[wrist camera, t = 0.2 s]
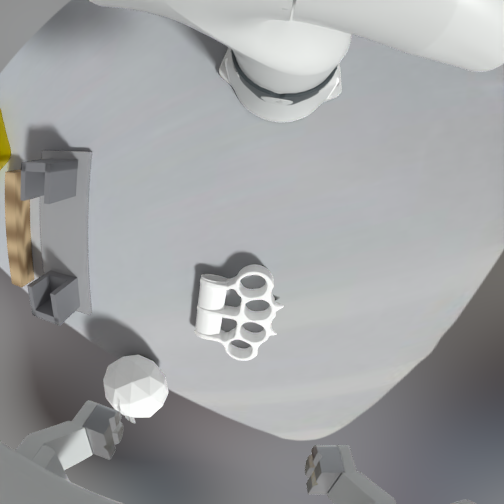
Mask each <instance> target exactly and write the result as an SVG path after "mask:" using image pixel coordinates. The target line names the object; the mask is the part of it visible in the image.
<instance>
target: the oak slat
mask: <svg viewBox="0 0 504 504" xmlns="http://www.w3.org/2000/svg"><path fill="white" fill-rule="evenodd" d="M5 219H6V236H7V247H8V257H9V265H10V272H11V279H12V283H13V284H15V285H17V286H20V287H23V286H25V285H26V284H28V283H29V282H31V281H32V280H34V271H33V262H32V250H31V234H30V199H29V200H26V201H22V200H21V169H20V170H14V171H9V172H5Z"/></svg>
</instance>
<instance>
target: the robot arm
mask: <svg viewBox="0 0 504 504" xmlns="http://www.w3.org/2000/svg"><path fill="white" fill-rule="evenodd" d="M89 1H90V2H92V3H94V4H96V5H99V6H103V7H113V8H122V9H130V10H136V11H142V12H147V13H151V14H155V15H159V16H162V17H166V18H169V19H172V20H174V21H177V22H179V23H182V24H184V25H186V26H189V27H191V28H193V29H195V30H197V31H199V32H201V33H203V34H205V35H207V36H209V37H211V38H213V39H215V40H216V41H218V42H220V43H222V44H224V45H225V46H227V47H228V50H227V52H226V54H225V56H224V58H223V61H222V63H221V65H220V68H219V74H220V76H221V77H222V78H223V79H224V80H225V81H226V82H227V83H229V84H230V85H231V86H232V87H233V89H234V91H235V93H236V95H237V97H238V99H239V100H240V102H241V103H242V104H243V106H244V107H245V108H246V109H248V110H249V111H250V112H251V113H253V114H254V115H256V116H258V117H260V118H262V119H265V120H268V121H273V122H292V121H296V120H299V119H302V118H304V117H306V116H308V115H309V114H311V113H312V112H313V111H315V110H316V109H317V108H318V107H319V106H320V105H321V104H322V103H323V102H325V101H328V100H331V99H334V98H336V97H338V96H339V95H340V93H341V91H342V87H341V73H340V61H341V60H342V59H343V57H344V56H345V55H346V53H347V51H348V49H349V46H350V43H351V37H352V35H355V36H358V37H361V38H365V39H368V40H371V41H374V42H377V43H380V44H382V45H385V46H388V47H391V48H393V49H396V50H398V51H401V52H403V53H406V54H410V55H415V56H419V57H422V58H426V59H430V60H434V61H437V62H440V63H444V64H448V65H452V66H455V67H459V68H462V69H466V70H469V71H473V72H485V71H489V70H492V69H494V68H497V67H499V66H501V65H502V64H504V0H89ZM121 418H122V417H121V412H119V411H117V410H114V409H111V408H108V407H106V406H103V405H101V404H98V403H95V402H92V401H90V400H89V401H87V402H86V403H85V404H84V406H83V407H82V408H81V410H80V411H79V412H78V414H77V415H76V416H75V418H74V419H73V420H72V422H70V421H67V422H64V423H61V424H58V425H55V426H52V427H49V428H46V429H43V430H40V431H37V432H34V433H31V434H28V435H27V436H26V438H25V439H24V440H23V441H22V442H21V444H20V445H19V446H18V447H17V449H16V450H13V449H12V448H10V447H9V446H7V445H6V444H4V443H3V442H1V441H0V504H123V503H120V502H117V501H114V500H112V499H109V498H106V497H104V496H101V495H99V494H96V493H94V492H92V491H89V490H87V489H84V488H82V487H80V486H78V485H76V484H74V483H72V482H70V481H69V479H68V477H67V475H66V473H65V471H64V470H65V469H67V468H69V467H71V466H73V465H75V464H77V463H78V462H80V461H82V460H84V459H86V458H88V457H89V456H91V455H92V454H95V455H98V456H101V457H104V458H106V459H109V460H110V459H111V458H112V456H113V454H114V452H115V450H116V449H115V444H117V443H119V442H120V440H121V438H122V434H123V424H122V423H121V422H120V419H121ZM311 452H312V455H310V456H309V457H308V458H307V460H306V465H305V475H306V476H307V477H308V478H309V479H308V481H307V483H306V484H307V491H308V494H311V495H312V494H313V495H315V494H316V495H317V494H318V495H319V494H320V495H321V494H327V496H328V497H329V499H330V500H331V501H332V502H333V503H334V504H396V502H395V499H394V498H393V497H391V496H390V495H389V494H388V493H386V492H385V491H384V490H382V489H381V488H380V487H379V486H377V485H376V484H375V483H373V482H372V481H371V480H370V479H368V478H367V477H366V476H365V475H364V474H362V473H361V472H357V470H356V466H355V463H354V459H353V456H352V453H351V449H350V447H349V446H348V445H315V446H314V447H313V448H312V450H311ZM453 504H476V503H474V502H472V501H469V500H462V501H458V502H456V503H453Z"/></svg>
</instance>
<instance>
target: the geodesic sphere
mask: <svg viewBox="0 0 504 504" xmlns="http://www.w3.org/2000/svg"><path fill="white" fill-rule="evenodd" d="M103 381H104V388H105V396H106V399H107V400H108V401H109V402H110V404H111V405H112V406H113V407H114V409H115V410H117V411H119V412H121V414H123V415H125V417H127V419H128V420H129V418H130V421H131V422H133V423H136V422H135V419H134V417H151V416H152V415H153V414H154V413H155V412H156V411H158V410H159V409H160V408H161V407H162V406H163V404H164V401H165V399H166V397H167V395H168V387H167V381H166V376H165V374H164V373H163V372H162V371H161V369H160V368H159V367H158V366H157V365H156V364H155V362H154V361H152V360H150V359H147V358H145V357H143V356H141V355H131V356H123V357H121V358H119V359H118V360H116V361H115V362H113V363H112V364H110V365H109V366H108V368H107V371H106V374H105V377H104V379H103ZM128 416H129V418H128Z"/></svg>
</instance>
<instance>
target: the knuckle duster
mask: <svg viewBox="0 0 504 504" xmlns="http://www.w3.org/2000/svg"><path fill="white" fill-rule="evenodd" d="M248 275H259V276H261V277H263V278H264V279H265V280H266V284H265V285H264V286H263V287H261V288H258V289H248V288H246V287H244V286H243V285H242V283H241V281H240V280H241V279H242V278H243V277H245V276H248ZM273 287H274V278H273V275H272V273H271V272H270V271H269V270H268V269H267V268H266V267H264V266H262V265H257V264H252V265H248V266H245V267H244V268H242V269H241V270H240V271H239V273H238V274H237V276H235V277H233V278H230V279H229V278H225V277H223V276H219V275H215V274H202V275H201V279H200V290H199V299H198V305H197V317H196V326H195V332H194V333H195V334H196V335H197V336H198V337H200V338H203V339H208V340H213V341H218V342H220V343H221V344H223V345H224V346H225V350H226V352H227V353H228V355H229V356H231V357H232V358H234V359H237V360H242V361H245V360H250V359H252V358H254V357H256V356H257V354H258V347H259V346H260V344H262V343H263V342H264V341H266V340H267V339H268V337H269V336H270V335H277V334H276V333H275V331H274V330H273V329H272V323H271V322H272V320H273V319H274V317H275V316H276V311H277V310H279V309H281V308H282V307H284V305H281V304H279V303H277V302H275V297H274V296H273V295H272V292H271V291H272V288H273ZM229 289H234V290H236V292H237V294H238V295H239V296H240V297H241V304H240V306H238V307H233V306H227V305H224V304H225V298H226V291H227V290H229ZM251 300H264V301H266V302H268V303H269V304H270V306H269V307H268V308H267V309H266V310H263V311H252V310H250V309H248V308H247V306H246V303H247V302H249V301H251ZM222 317H224V318H229V319H234V320H235V321H236V322H237V326H236V328H234V329H232V330H230V331H229V332H225V331H223V330H222V329H221V323H222ZM246 322H254V323H257V324H259V325H261V326H262V327H263V328H264V329H263V330H262V331H260V332H257V333H254V332H250V331H248V330H246V329H244V328H243V326H242V325H243V324H244V323H246ZM233 340H242V341H244V342H247V343H249V344H250V345H251V346H250V347H249V348H245V349H243V348H239V347H236V346H234V345H233V344H232V343H231V341H233Z"/></svg>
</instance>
